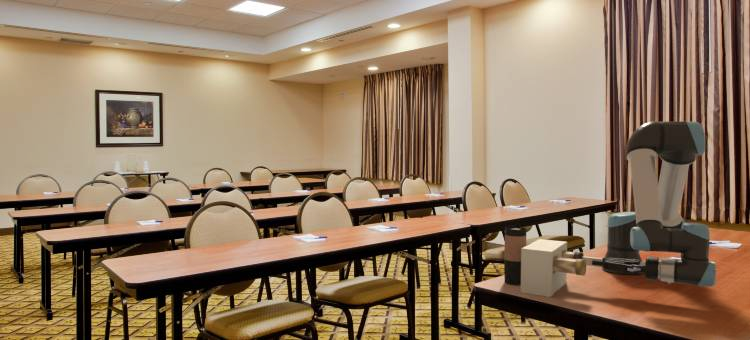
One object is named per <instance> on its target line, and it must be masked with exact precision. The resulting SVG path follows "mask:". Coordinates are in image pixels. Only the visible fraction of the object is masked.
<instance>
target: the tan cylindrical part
mask: <svg viewBox="0 0 750 340" xmlns="http://www.w3.org/2000/svg"><path fill="white" fill-rule="evenodd" d="M583 256H585V255H584V252H581V251H575V252H572V251H567V252H566V251H562V258H568V259H582V257H583Z"/></svg>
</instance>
